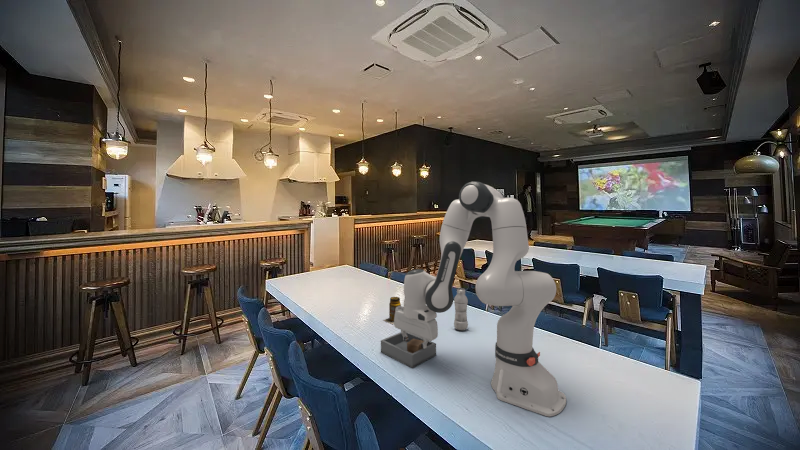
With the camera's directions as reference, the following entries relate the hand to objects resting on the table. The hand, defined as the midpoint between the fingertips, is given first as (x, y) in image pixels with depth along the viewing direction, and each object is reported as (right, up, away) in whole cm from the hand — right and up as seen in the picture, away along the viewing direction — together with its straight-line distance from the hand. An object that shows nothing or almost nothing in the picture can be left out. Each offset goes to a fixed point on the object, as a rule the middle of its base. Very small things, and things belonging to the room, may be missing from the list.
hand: (414, 344), depth 123 cm
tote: (-2, -5, +3) cm, 6 cm away
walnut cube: (0, -4, 0) cm, 4 cm away
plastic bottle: (+24, -4, +27) cm, 36 cm away
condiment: (-9, -3, +40) cm, 41 cm away
